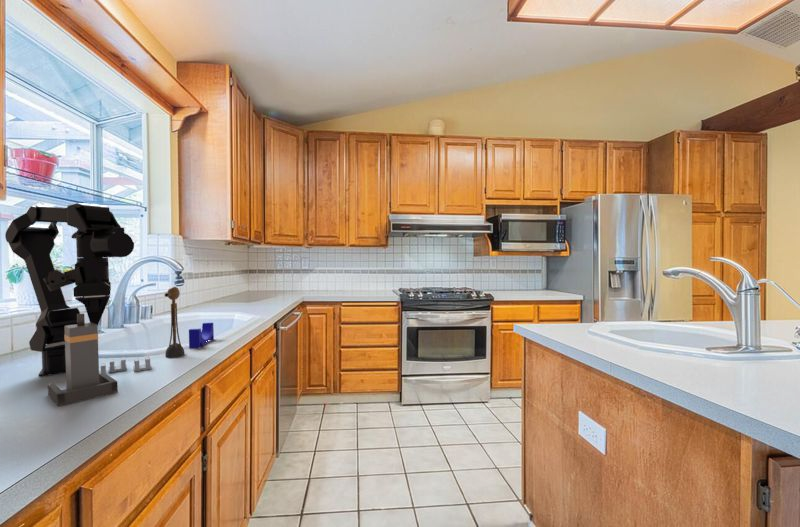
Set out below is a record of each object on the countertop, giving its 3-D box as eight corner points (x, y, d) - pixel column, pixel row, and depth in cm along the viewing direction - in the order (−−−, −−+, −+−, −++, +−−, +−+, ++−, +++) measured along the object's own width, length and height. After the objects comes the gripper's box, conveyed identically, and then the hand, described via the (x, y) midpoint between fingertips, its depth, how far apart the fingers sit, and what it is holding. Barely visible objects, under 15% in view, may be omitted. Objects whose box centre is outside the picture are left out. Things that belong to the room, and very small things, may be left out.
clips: (88, 372, 93) (88, 362, 93) (149, 363, 101) (149, 353, 101) (87, 379, 88) (87, 368, 88) (151, 369, 96) (151, 358, 96)
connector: (66, 392, 79) (63, 314, 78) (93, 385, 82) (91, 311, 82) (71, 397, 76) (68, 316, 76) (100, 390, 80) (97, 313, 79)
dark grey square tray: (48, 395, 78) (48, 384, 78) (104, 382, 86) (104, 372, 86) (58, 406, 73) (57, 394, 72) (117, 392, 80) (117, 381, 80)
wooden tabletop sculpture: (176, 358, 105) (174, 287, 105) (159, 358, 105) (157, 287, 105) (187, 353, 111) (186, 285, 111) (171, 353, 111) (170, 285, 111)
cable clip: (199, 340, 129) (199, 322, 128) (213, 339, 129) (213, 322, 129) (184, 349, 117) (183, 329, 116) (199, 348, 117) (198, 329, 117)
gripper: (51, 258, 91) (54, 322, 91) (39, 258, 76) (42, 335, 76) (109, 257, 98) (111, 317, 98) (109, 257, 83) (111, 327, 83)
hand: (95, 323), depth 89 cm, fingers open, 9 cm apart
